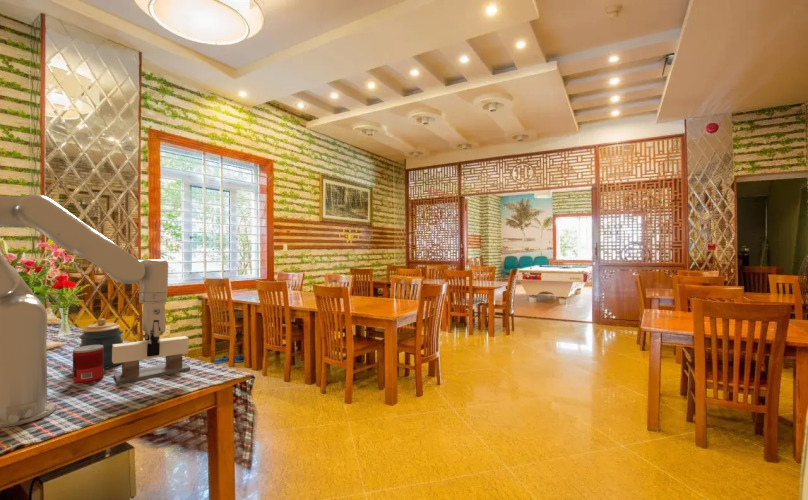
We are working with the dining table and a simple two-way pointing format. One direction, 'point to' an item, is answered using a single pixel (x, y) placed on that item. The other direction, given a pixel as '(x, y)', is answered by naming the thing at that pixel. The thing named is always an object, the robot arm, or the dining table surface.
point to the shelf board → (139, 349)
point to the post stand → (149, 369)
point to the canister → (102, 338)
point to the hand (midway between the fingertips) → (151, 353)
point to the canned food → (88, 364)
